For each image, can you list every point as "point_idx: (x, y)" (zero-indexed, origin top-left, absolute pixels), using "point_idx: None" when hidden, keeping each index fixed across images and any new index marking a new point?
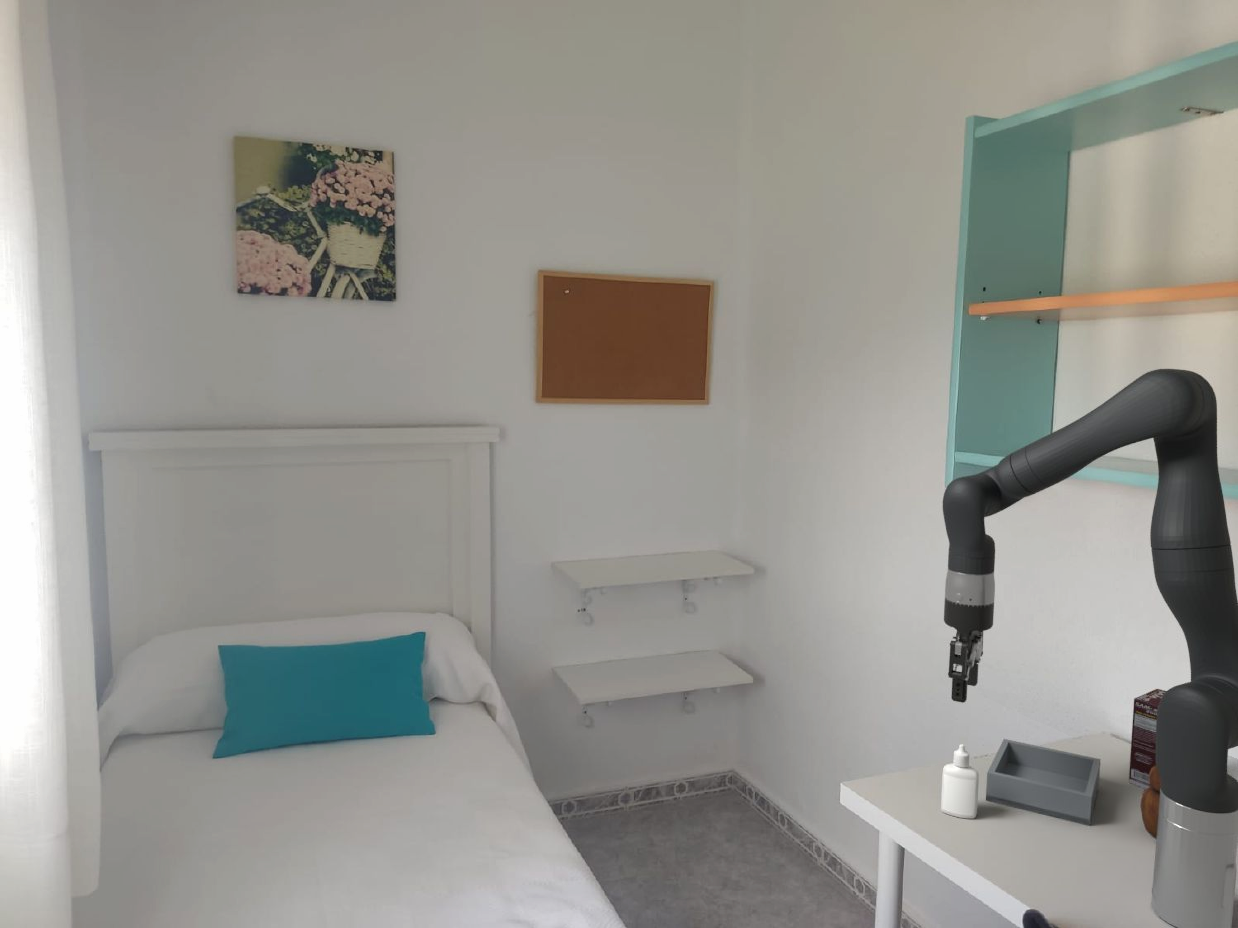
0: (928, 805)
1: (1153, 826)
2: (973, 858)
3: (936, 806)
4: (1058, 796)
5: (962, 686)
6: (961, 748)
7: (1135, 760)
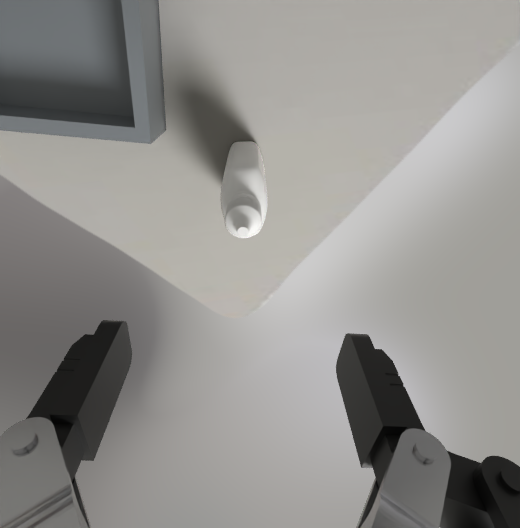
0: None
1: None
2: (399, 128)
3: None
4: None
5: (414, 410)
6: (250, 228)
7: None
